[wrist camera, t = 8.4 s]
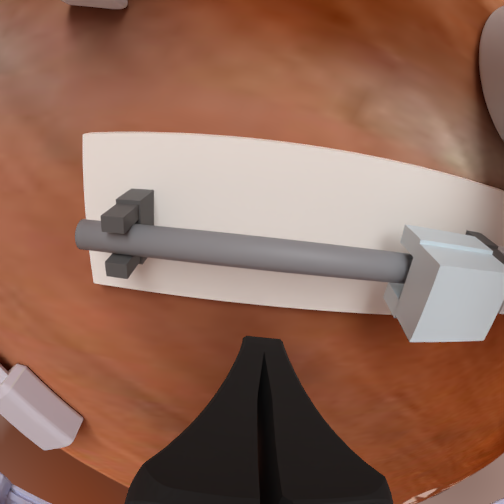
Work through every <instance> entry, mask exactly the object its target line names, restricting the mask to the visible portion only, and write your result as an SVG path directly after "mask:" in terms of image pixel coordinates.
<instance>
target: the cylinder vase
mask: <svg viewBox="0 0 504 504" xmlns="http://www.w3.org/2000/svg"><path fill="white" fill-rule="evenodd" d="M479 69H480V78H481V84H482V89H483V94H484V97H485V101H486V104H487V108H488V110H489V113H490V116H491V118H492V121H493V123H494V125H495V127H496V129H497V131H498V133H499V135H500V137H501V138H502V140H503V142H504V6H502V7H500V8H498V9H497V10H495V11H494V12H493V13H492V14H491V15H490V17H489V18H488V20H487V21H486V23H485V26H484V28H483V31H482V35H481V39H480V46H479Z"/></svg>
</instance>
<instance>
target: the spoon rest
mask: <svg viewBox="0 0 504 504" xmlns="http://www.w3.org/2000/svg"><path fill="white" fill-rule="evenodd" d="M61 1H63V2H64V3H67V4H69V5H76V6H88V7H97V8H108V9H123V8H126V7H127V4H128V1H127V0H61Z"/></svg>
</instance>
